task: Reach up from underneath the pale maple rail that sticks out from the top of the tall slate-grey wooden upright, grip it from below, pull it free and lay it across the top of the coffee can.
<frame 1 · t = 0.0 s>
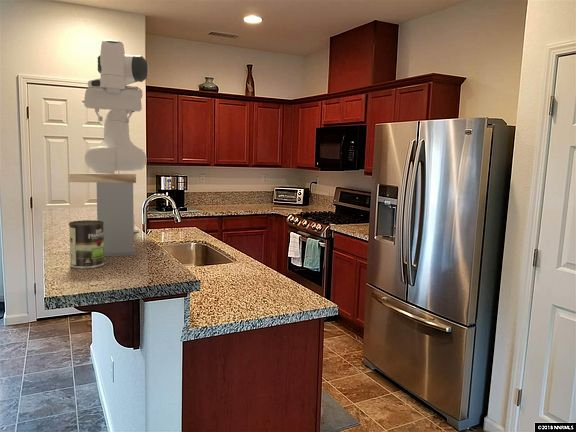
hand: (113, 122, 170), 48 cm above the countertop, tool pointing down, fingers open, 8 cm apart
upright: (116, 253, 164), on the countertop
rail: (103, 182, 159), point 26 cm above the countertop, touching upright
coffee can: (87, 265, 146), on the countertop
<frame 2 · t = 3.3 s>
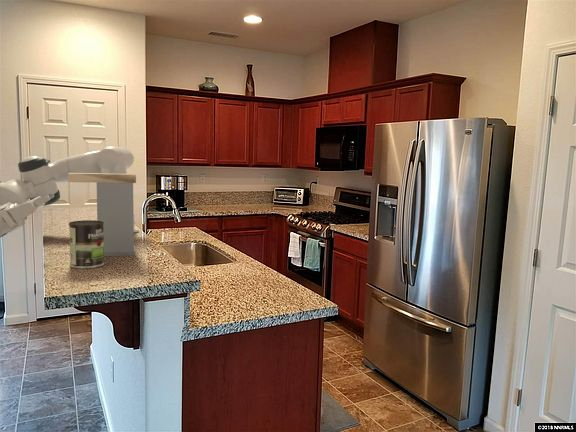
hand: (51, 196, 154), 21 cm above the countertop, tool pointing upward, fingers open, 8 cm apart
nothing on the countertop moved.
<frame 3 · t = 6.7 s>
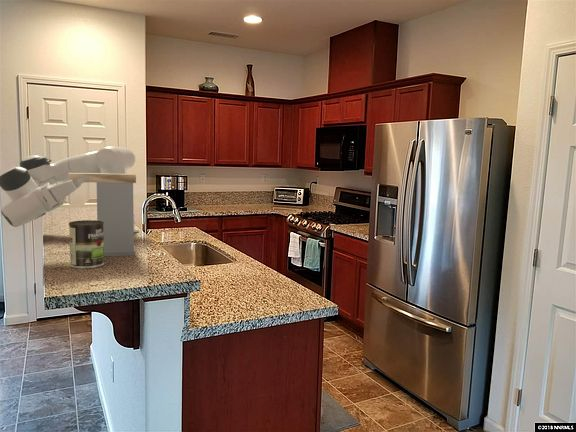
hand: (88, 176, 157), 28 cm above the countertop, tool pointing upward, fingers closed on rail, 3 cm apart
rail: (103, 182, 159), point 26 cm above the countertop, touching gripper
everything else where it was.
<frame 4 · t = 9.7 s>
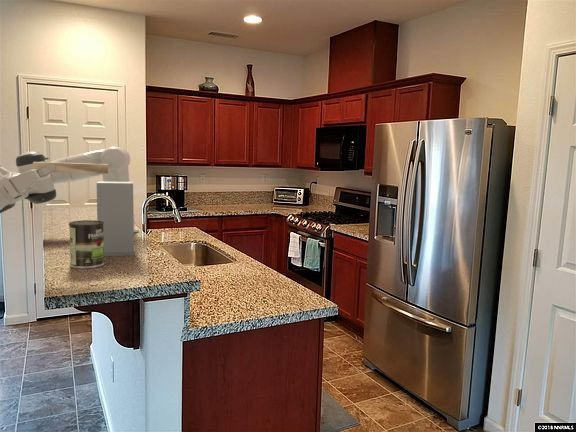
hand: (56, 166, 145), 32 cm above the countertop, tool pointing upward, fingers closed on rail, 3 cm apart
rail: (72, 172, 147), point 30 cm above the countertop, touching gripper
everything else where it was.
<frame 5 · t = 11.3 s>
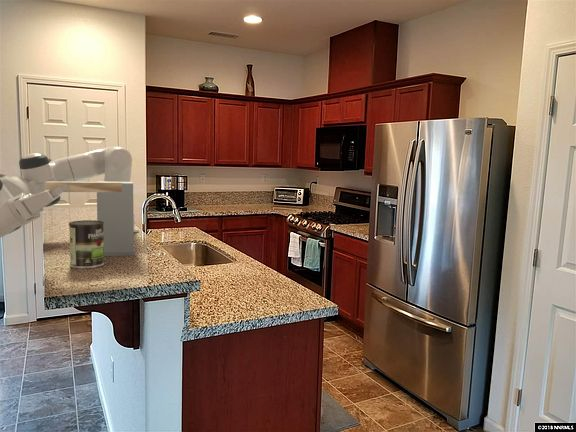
hand: (68, 185, 141), 26 cm above the countertop, tool pointing upward, fingers closed on rail, 3 cm apart
rail: (85, 191, 142), point 24 cm above the countertop, touching gripper
everything else where it was.
when the fingers open (19 cm above the countertop, at t = 12.7 s): rail drops 3 cm, resting on coffee can.
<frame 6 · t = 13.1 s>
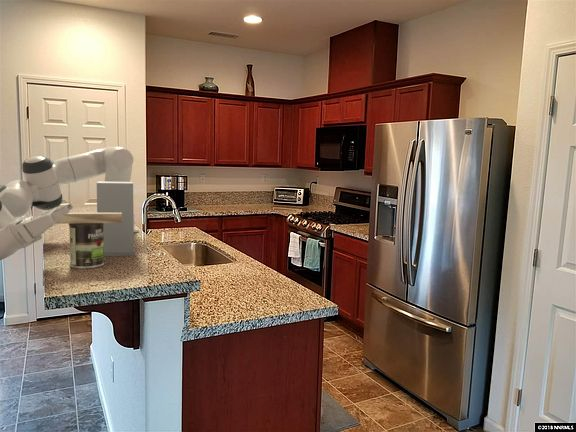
hand: (69, 207, 142), 19 cm above the countertop, tool pointing upward, fingers open, 8 cm apart
rail: (85, 222, 144), point 14 cm above the countertop, touching coffee can
coffee can: (87, 265, 146), on the countertop, touching rail
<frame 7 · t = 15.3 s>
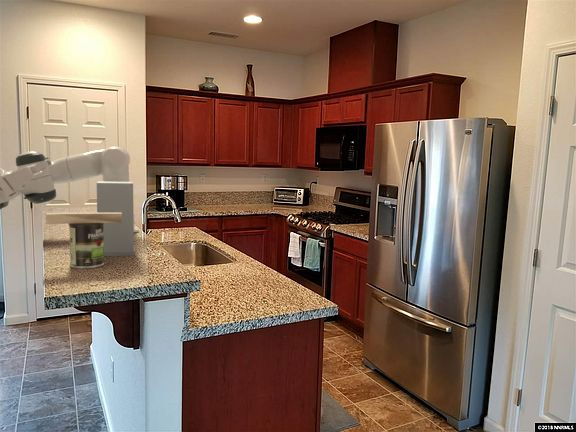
hand: (48, 162, 145), 33 cm above the countertop, tool pointing upward, fingers open, 8 cm apart
nothing on the countertop moved.
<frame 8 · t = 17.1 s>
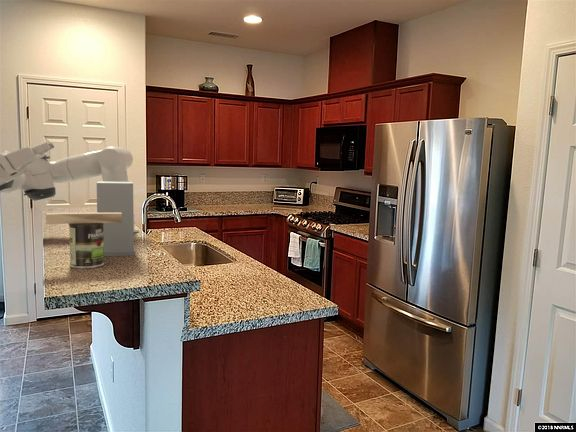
hand: (50, 144, 148), 38 cm above the countertop, tool pointing upward, fingers open, 8 cm apart
nothing on the countertop moved.
at the end: rail 0.3 cm from the coffee can (horizontally); rail point 14.0 cm above the countertop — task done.
